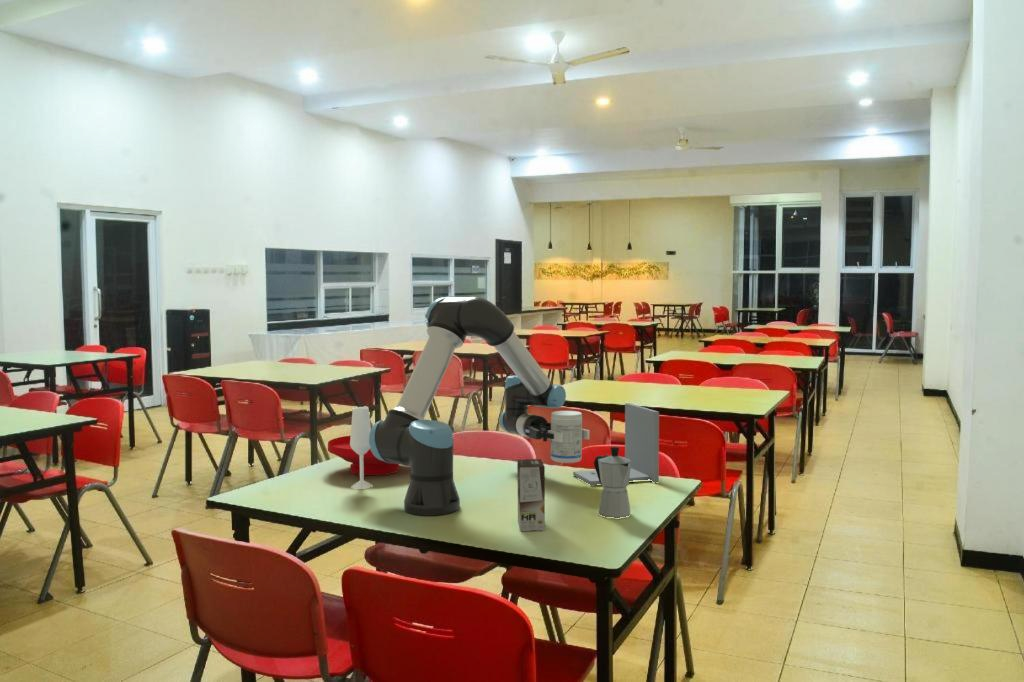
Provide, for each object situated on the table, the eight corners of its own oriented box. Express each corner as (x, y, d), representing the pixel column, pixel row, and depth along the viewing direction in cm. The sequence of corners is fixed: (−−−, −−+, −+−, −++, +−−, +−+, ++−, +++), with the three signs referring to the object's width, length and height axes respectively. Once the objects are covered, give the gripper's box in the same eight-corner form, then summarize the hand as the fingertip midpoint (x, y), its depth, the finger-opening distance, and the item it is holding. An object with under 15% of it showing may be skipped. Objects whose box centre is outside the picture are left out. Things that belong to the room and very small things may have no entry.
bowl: (332, 484, 239) (332, 452, 238) (324, 464, 268) (323, 435, 267) (430, 476, 249) (429, 445, 248) (411, 458, 277) (411, 430, 277)
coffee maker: (643, 518, 201) (643, 449, 200) (616, 523, 197) (616, 452, 196) (608, 504, 214) (608, 440, 213) (582, 509, 210) (582, 443, 208)
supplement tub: (551, 457, 242) (551, 410, 242) (581, 457, 241) (582, 410, 241) (549, 463, 233) (550, 414, 232) (581, 464, 232) (582, 415, 231)
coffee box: (545, 531, 190) (545, 466, 189) (519, 531, 190) (519, 466, 189) (541, 520, 199) (541, 458, 199) (516, 521, 199) (516, 459, 198)
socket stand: (658, 482, 238) (659, 411, 237) (595, 488, 232) (595, 415, 230) (629, 469, 257) (629, 403, 256) (569, 474, 251) (569, 406, 249)
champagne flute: (377, 486, 236) (376, 408, 234) (357, 490, 231) (356, 410, 230) (366, 482, 241) (365, 405, 239) (346, 486, 237) (345, 407, 235)
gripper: (560, 434, 258) (603, 445, 239) (503, 441, 246) (545, 452, 227) (560, 412, 257) (603, 421, 239) (504, 417, 245) (545, 427, 227)
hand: (575, 436), depth 233 cm, fingers closed on supplement tub, 9 cm apart
